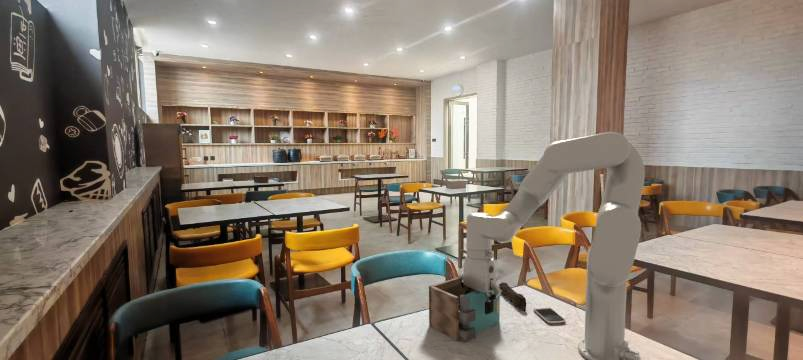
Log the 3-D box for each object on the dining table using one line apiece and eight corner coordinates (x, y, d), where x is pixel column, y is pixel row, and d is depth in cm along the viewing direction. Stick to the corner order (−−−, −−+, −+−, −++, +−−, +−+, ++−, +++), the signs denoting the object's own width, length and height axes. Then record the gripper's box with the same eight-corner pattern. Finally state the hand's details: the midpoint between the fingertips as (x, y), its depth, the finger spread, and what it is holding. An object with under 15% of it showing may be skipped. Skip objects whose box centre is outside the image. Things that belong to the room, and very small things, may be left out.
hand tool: (497, 292, 151) (497, 280, 150) (507, 291, 151) (507, 280, 151) (517, 313, 132) (517, 300, 132) (528, 312, 132) (528, 299, 132)
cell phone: (548, 326, 122) (548, 322, 122) (532, 311, 133) (532, 307, 133) (566, 325, 123) (567, 321, 123) (549, 310, 134) (549, 306, 134)
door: (501, 323, 124) (502, 286, 123) (466, 338, 114) (466, 299, 113) (493, 319, 127) (493, 283, 126) (458, 334, 117) (458, 296, 116)
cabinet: (507, 323, 124) (507, 284, 123) (461, 343, 112) (461, 300, 110) (473, 308, 135) (474, 272, 134) (429, 325, 123) (428, 286, 122)
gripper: (510, 257, 114) (509, 314, 115) (466, 245, 128) (466, 297, 129) (493, 262, 109) (492, 322, 111) (450, 249, 123) (450, 302, 125)
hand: (478, 308), depth 120 cm, fingers open, 7 cm apart
